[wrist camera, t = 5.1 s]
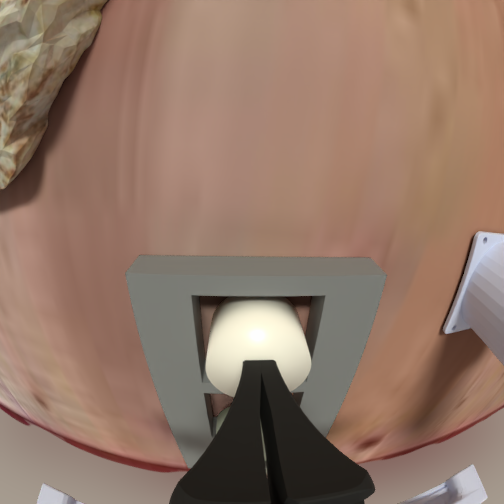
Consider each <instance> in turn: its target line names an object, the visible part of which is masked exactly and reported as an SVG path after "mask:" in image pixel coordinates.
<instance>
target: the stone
mask: <svg viewBox="0 0 504 504" xmlns="http://www.w3.org/2000/svg"><path fill="white" fill-rule="evenodd" d="M107 1H108V0H0V191H1V190H3V189H5V188H6V187H7V186H8V185H9V184H10V182H11V181H13V180H14V179H15V177H16V176H17V175H18V174H19V173H20V172H21V170H22V169H23V168H24V167H25V165H26V164H27V163H28V162H29V160H30V159H31V158H32V156H33V154H34V152H35V150H36V149H37V147H38V146H39V143H40V141H41V138H42V136H43V134H44V132H45V131H46V129H47V127H48V111H49V109H50V106H51V104H52V102H53V101H54V99H55V98H56V97H57V94H58V92H59V90H60V88H61V85H62V83H63V81H64V79H65V78H66V77H67V76H69V74H70V73H71V72H72V71H73V70H74V68H75V66H76V64H77V62H78V60H79V58H80V57H81V55H82V53H83V52H84V50H86V49H87V48H88V47H89V46H90V45H91V43H92V41H93V38H94V36H95V34H96V32H97V30H98V28H99V25H100V23H101V20H102V16H101V13H100V10H101V8H102V7H103V5H104V4H105V3H106V2H107Z"/></svg>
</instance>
